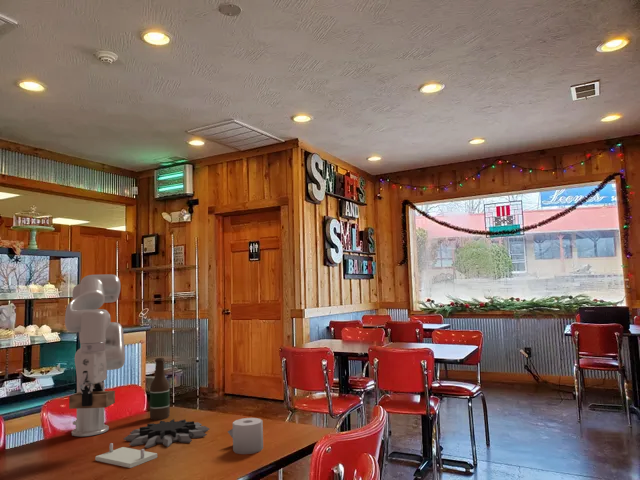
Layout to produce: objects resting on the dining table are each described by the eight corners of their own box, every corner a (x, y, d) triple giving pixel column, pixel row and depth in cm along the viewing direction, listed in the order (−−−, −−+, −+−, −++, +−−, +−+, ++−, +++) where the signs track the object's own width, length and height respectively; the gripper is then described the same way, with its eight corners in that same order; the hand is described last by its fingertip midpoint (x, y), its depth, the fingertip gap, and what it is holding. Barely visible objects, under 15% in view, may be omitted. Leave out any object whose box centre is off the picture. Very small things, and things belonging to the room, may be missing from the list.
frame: (69, 408, 160) (69, 396, 160) (79, 404, 166) (79, 391, 166) (106, 407, 160) (106, 394, 160) (114, 402, 166) (114, 390, 166)
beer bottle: (173, 415, 206) (173, 357, 208) (161, 420, 199) (161, 359, 201) (158, 414, 208) (157, 356, 211) (145, 419, 201) (145, 359, 204)
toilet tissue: (234, 442, 166) (234, 416, 167) (268, 446, 160) (267, 419, 161) (217, 450, 158) (217, 422, 159) (252, 455, 152) (251, 426, 153)
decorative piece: (151, 414, 194) (223, 415, 188) (151, 425, 194) (224, 426, 188) (103, 437, 165) (186, 439, 159) (103, 449, 164) (187, 452, 158)
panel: (95, 460, 153) (95, 447, 153) (122, 450, 161) (123, 439, 162) (130, 468, 145) (130, 454, 145) (157, 457, 153) (157, 445, 154)
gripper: (91, 350, 156) (91, 409, 154) (115, 344, 173) (115, 397, 171) (68, 351, 156) (67, 410, 154) (94, 345, 173) (93, 398, 172)
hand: (92, 402), depth 163 cm, fingers closed on frame, 6 cm apart
